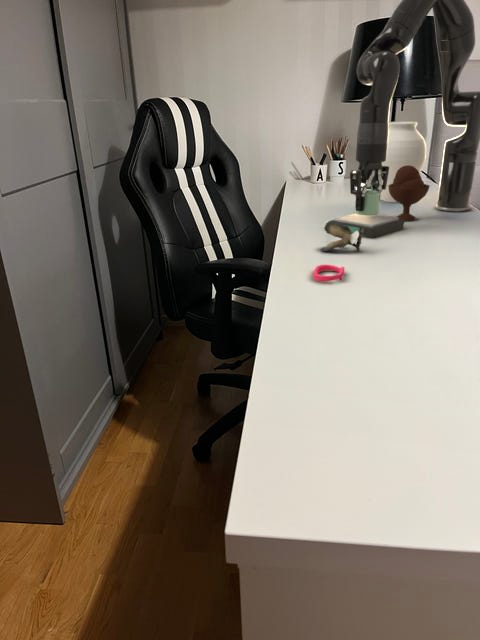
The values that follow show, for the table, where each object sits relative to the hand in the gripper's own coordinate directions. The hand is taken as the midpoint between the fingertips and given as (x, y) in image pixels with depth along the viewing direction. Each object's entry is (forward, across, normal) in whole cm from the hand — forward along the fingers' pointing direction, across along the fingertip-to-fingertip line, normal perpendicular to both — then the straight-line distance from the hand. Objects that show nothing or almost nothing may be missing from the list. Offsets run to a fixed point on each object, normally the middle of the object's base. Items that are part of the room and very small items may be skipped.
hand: (367, 208), depth 132 cm
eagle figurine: (+6, -21, -8) cm, 23 cm away
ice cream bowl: (+6, +18, -1) cm, 19 cm away
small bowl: (+1, 0, 0) cm, 1 cm away
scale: (+5, 0, 0) cm, 5 cm away
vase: (+6, +42, +18) cm, 46 cm away
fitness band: (+6, -38, -18) cm, 42 cm away
